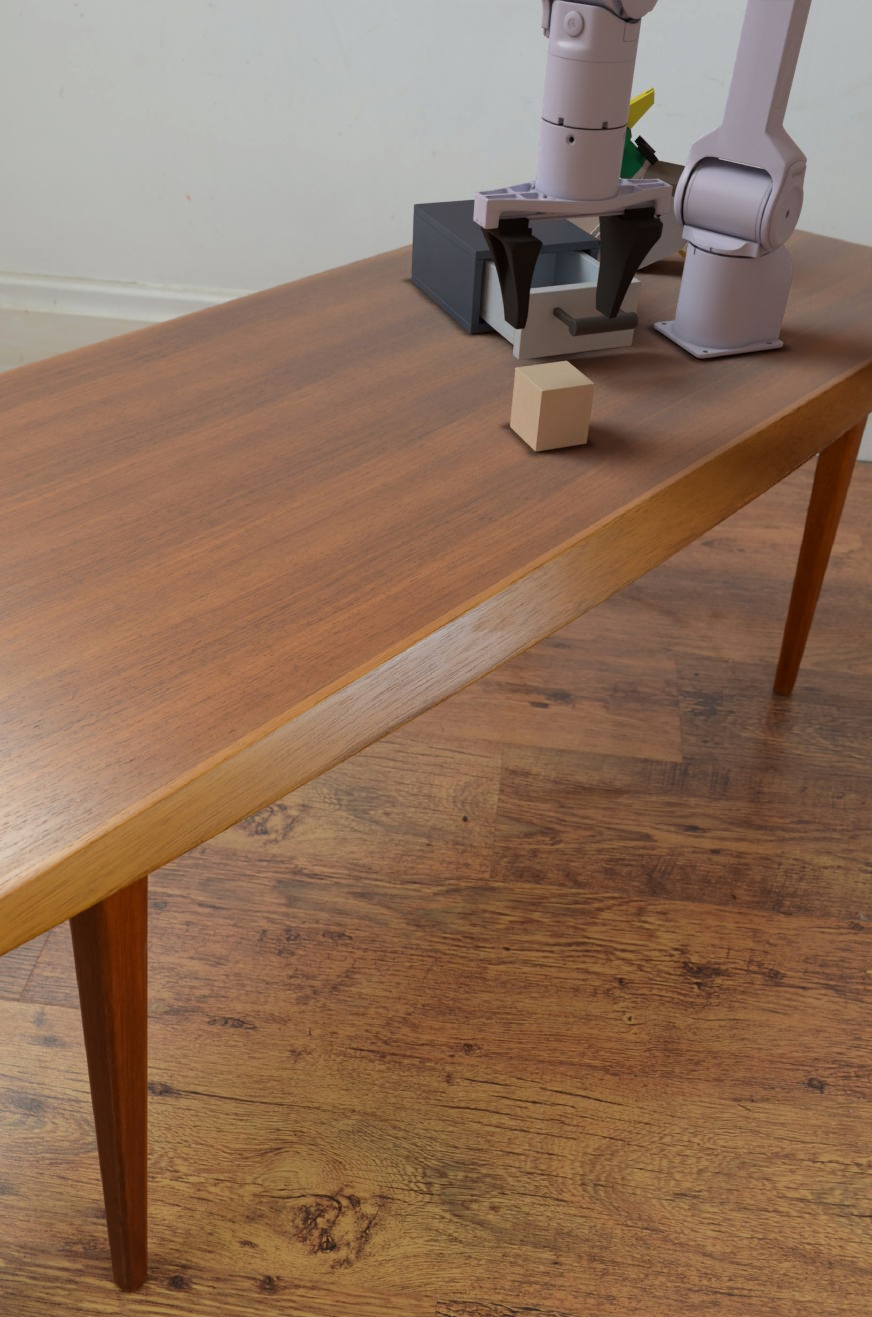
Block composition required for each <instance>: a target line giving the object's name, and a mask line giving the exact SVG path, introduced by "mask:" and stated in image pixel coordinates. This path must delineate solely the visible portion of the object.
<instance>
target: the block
mask: <svg viewBox="0 0 872 1317" xmlns="http://www.w3.org/2000/svg"><path fill="white" fill-rule="evenodd" d="M513 378H514V379H513V380H514V381H513V390H512V400H511V412H510V423H509V427H510V428H511V429H512V430H513V432H514V433H516V435H518V437H520V438H521V439H522V440H523V442H525V443H526V444H527V445H528V446H529V447H530V448H531V449H532V450H533V451H534V452H542V451H549V450H555V449H562V448H567V447H573V446H580V445H586V444H587V443H588V442H587V441H588V435H589V429H590V420H591V416H592V415H591V414H592V407H593V400H594V393H595V386H596V383H595V382H594V381H592V380H591V379H590V378H589V377H587V376H586V374H584V373H582V371H580V370H579V369H578V368H576V367H575V366H574V365H573V364H572V363H570V362H569V361H568V360H561V361H554V362H553V361H552V362H546V363H540V364H532V365H524V366H517V367H515V368H514V377H513Z"/></svg>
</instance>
